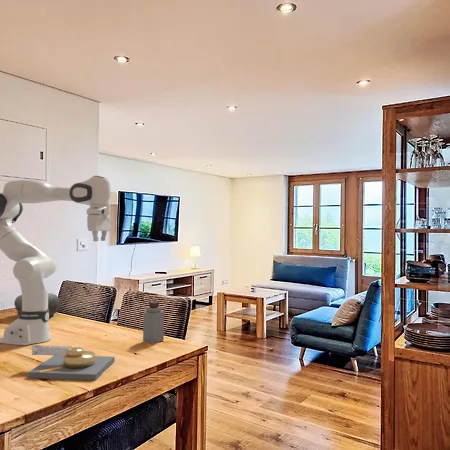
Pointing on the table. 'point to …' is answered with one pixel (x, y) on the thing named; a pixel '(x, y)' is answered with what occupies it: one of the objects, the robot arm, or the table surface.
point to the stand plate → (70, 369)
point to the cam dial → (67, 355)
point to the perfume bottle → (153, 323)
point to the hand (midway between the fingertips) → (99, 241)
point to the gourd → (52, 303)
